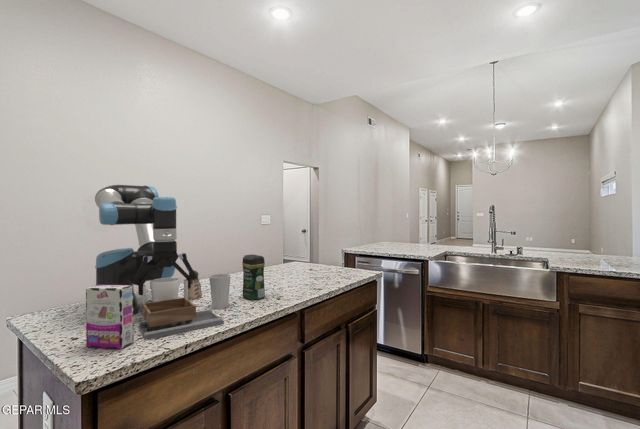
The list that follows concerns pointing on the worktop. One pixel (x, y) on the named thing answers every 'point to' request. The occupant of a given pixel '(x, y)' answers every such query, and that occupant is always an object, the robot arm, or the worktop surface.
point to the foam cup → (164, 289)
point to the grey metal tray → (182, 325)
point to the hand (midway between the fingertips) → (165, 301)
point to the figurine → (195, 288)
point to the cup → (220, 290)
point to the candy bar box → (109, 316)
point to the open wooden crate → (168, 312)
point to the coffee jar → (253, 277)
